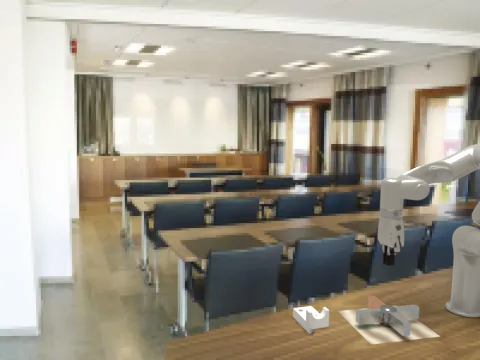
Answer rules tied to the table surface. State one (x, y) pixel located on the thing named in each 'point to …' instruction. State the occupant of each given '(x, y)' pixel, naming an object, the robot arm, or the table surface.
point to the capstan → (388, 315)
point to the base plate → (387, 330)
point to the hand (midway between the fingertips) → (388, 264)
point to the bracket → (311, 318)
